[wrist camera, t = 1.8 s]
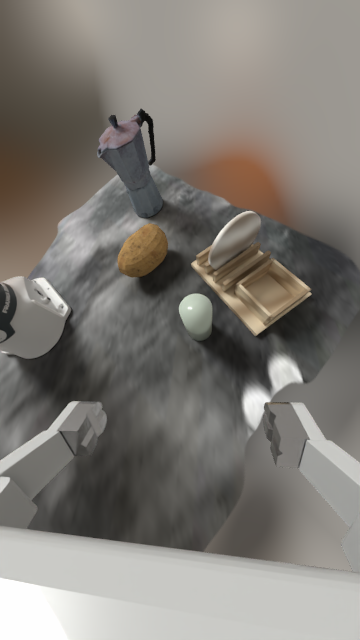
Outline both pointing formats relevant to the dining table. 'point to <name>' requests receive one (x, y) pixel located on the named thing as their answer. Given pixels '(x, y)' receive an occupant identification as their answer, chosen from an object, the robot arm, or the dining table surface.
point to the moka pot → (132, 161)
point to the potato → (143, 251)
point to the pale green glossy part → (197, 316)
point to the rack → (249, 275)
